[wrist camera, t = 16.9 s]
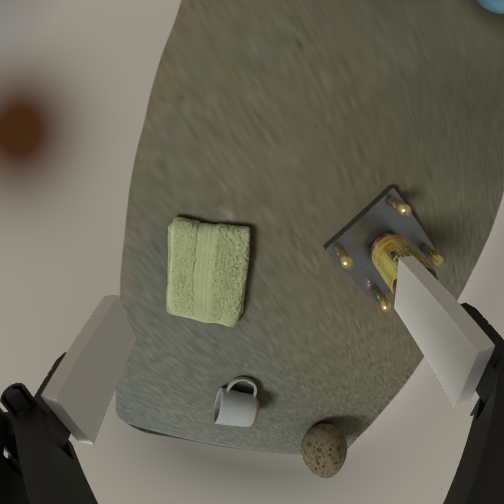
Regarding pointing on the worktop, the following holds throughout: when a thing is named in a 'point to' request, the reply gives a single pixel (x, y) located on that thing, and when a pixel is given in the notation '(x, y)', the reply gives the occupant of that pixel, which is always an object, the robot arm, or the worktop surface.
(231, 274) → the washcloth
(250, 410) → the ceramic mug
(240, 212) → the worktop surface
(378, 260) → the sauce bottle
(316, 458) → the decorative egg
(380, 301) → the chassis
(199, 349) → the worktop surface
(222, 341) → the worktop surface
